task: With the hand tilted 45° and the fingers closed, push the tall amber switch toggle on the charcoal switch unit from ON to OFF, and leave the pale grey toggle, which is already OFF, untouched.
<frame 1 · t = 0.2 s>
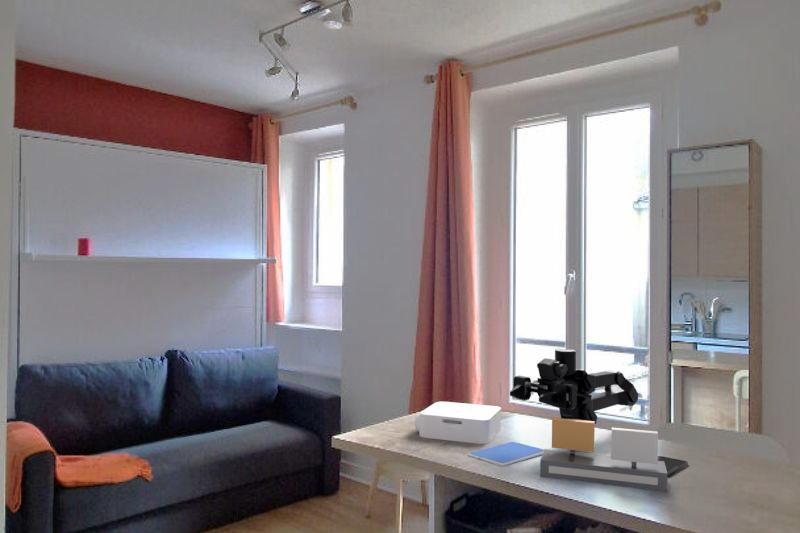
hand: (524, 396, 167), 16 cm above the table, tool horizontal, fingers open, 9 cm apart
amber toggle: (573, 436, 158), point 8 cm above the table, slide at 0.0 cm
tablet computer: (507, 457, 172), on the table
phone: (663, 469, 163), on the table
switch unit: (602, 477, 154), on the table
grey toggle: (634, 447, 149), point 8 cm above the table, slide at 5.0 cm
projector: (460, 433, 195), on the table
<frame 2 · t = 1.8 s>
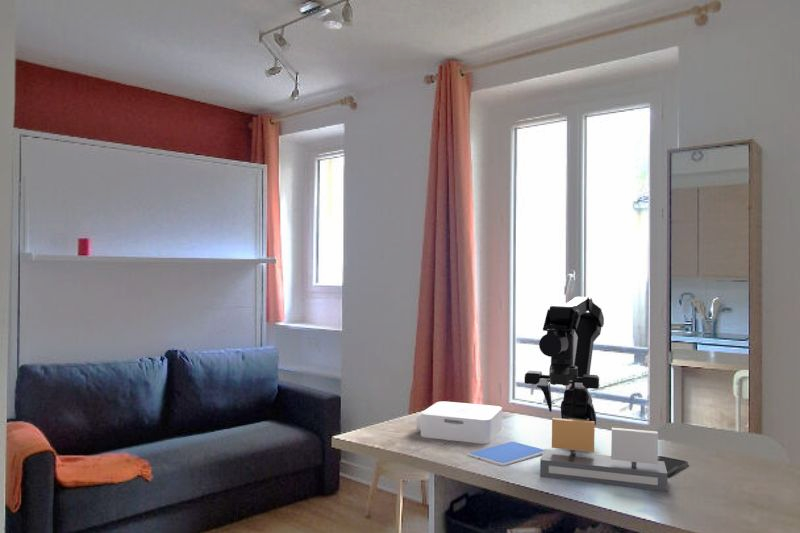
hand: (561, 412, 169), 12 cm above the table, tool pointing down, fingers open, 5 cm apart
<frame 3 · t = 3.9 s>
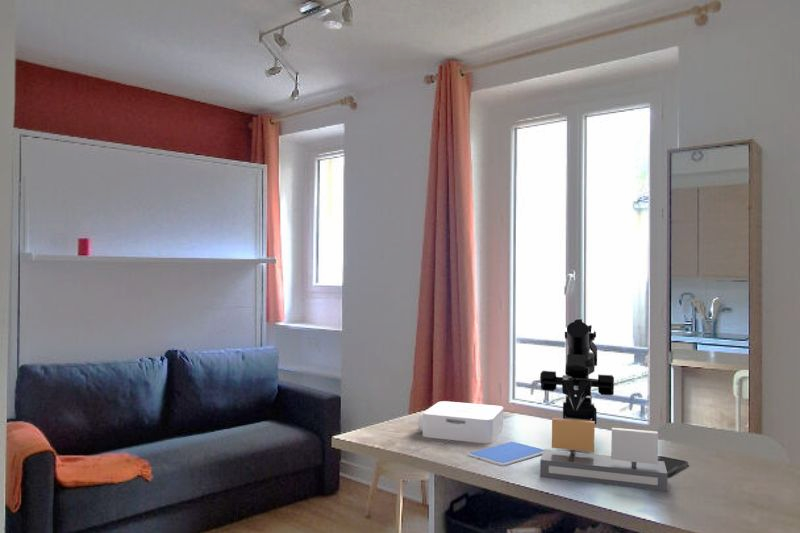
hand: (575, 409, 166), 14 cm above the table, tool tilted 45°, fingers closed
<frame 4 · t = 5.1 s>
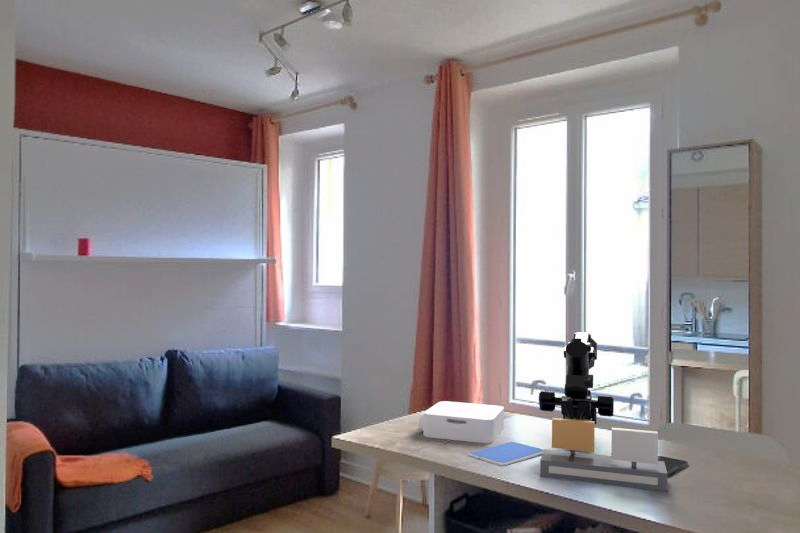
hand: (574, 431, 163), 9 cm above the table, tool tilted 45°, fingers closed
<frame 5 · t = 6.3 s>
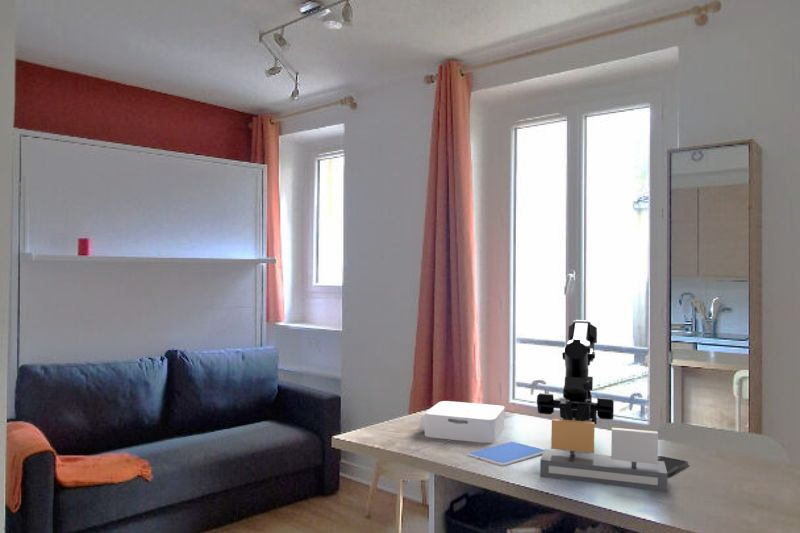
hand: (573, 435, 159), 9 cm above the table, tool tilted 45°, fingers closed, pressing on amber toggle
amber toggle: (572, 437, 157), point 8 cm above the table, slide at 1.0 cm, touching gripper
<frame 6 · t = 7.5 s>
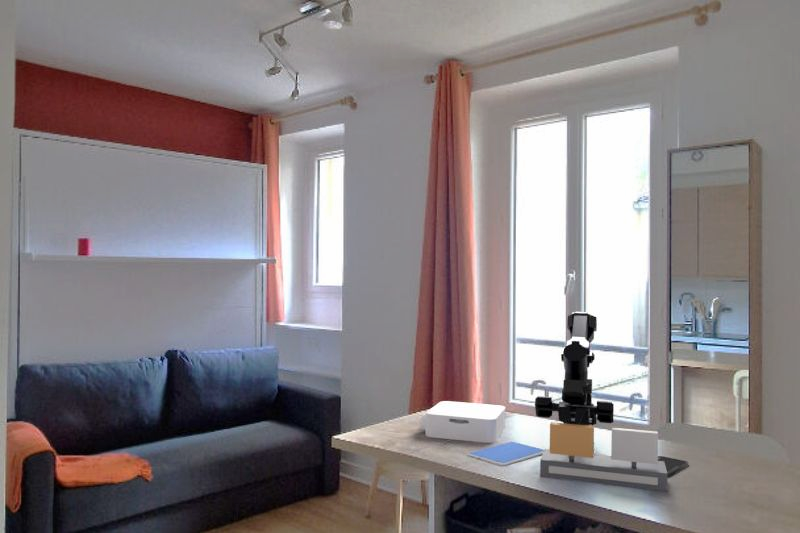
hand: (572, 439, 154), 9 cm above the table, tool tilted 45°, fingers closed, pressing on amber toggle
amber toggle: (571, 441, 153), point 8 cm above the table, slide at 5.3 cm, touching gripper
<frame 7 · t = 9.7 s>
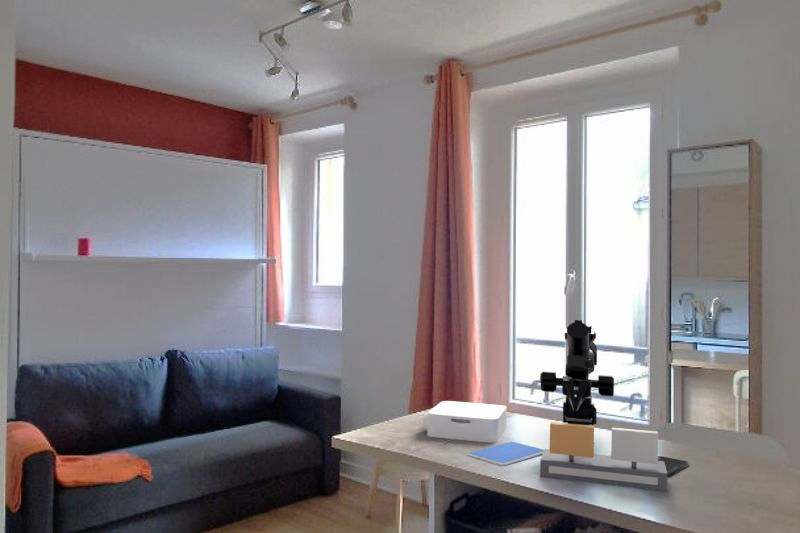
hand: (575, 410, 165), 13 cm above the table, tool tilted 45°, fingers closed
amber toggle: (571, 441, 153), point 8 cm above the table, slide at 5.1 cm
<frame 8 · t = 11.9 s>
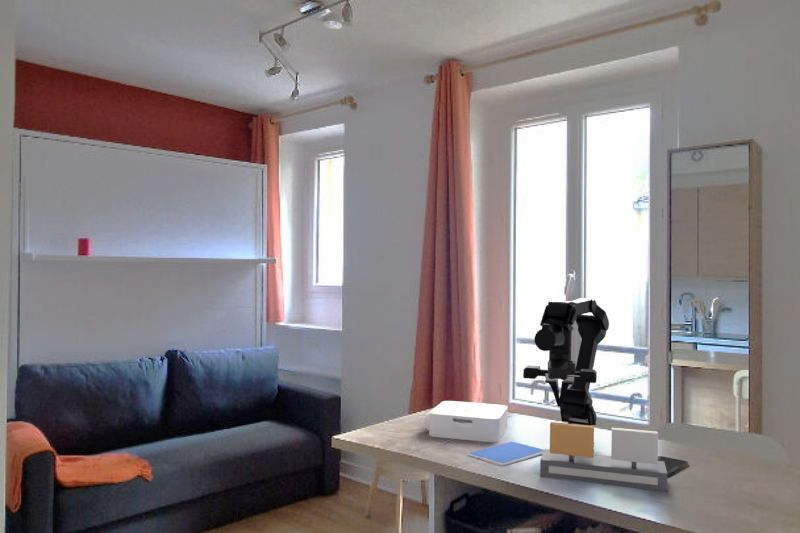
hand: (559, 406, 172), 13 cm above the table, tool pointing down, fingers closed
at the end: amber toggle slide at 5.1 cm; grey toggle slide at 5.0 cm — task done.
